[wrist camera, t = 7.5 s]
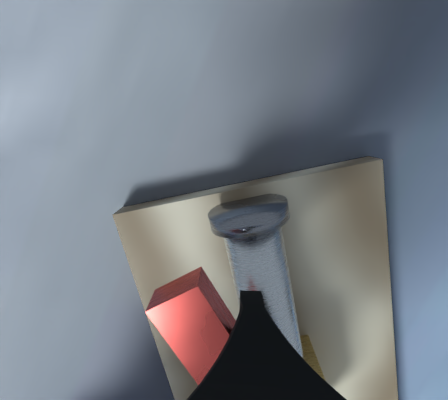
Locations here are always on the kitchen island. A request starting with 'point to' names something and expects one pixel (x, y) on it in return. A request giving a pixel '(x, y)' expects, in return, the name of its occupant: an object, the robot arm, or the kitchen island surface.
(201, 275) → the valve lever
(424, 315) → the kitchen island surface
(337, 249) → the valve board
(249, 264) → the valve pipe
